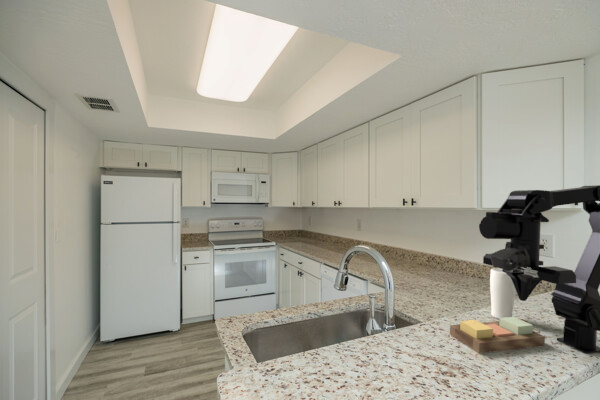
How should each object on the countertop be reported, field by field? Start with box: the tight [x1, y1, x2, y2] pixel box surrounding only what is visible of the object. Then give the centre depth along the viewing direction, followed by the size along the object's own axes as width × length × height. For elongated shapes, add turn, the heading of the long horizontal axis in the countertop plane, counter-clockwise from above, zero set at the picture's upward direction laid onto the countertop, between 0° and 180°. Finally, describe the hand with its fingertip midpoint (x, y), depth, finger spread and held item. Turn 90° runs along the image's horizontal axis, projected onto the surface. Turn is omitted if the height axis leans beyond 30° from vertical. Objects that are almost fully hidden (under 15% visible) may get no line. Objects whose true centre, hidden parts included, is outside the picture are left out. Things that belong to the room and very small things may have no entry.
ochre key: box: [460, 319, 493, 339], centre depth 69 cm, size 5×5×3 cm
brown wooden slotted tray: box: [449, 320, 546, 354], centre depth 70 cm, size 21×9×2 cm, turn 103°
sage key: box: [498, 316, 534, 335], centre depth 72 cm, size 5×5×3 cm
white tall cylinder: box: [489, 267, 517, 320], centre depth 84 cm, size 7×7×15 cm
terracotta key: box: [487, 324, 513, 337], centre depth 70 cm, size 5×5×3 cm
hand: (522, 300), depth 68 cm, fingers closed
